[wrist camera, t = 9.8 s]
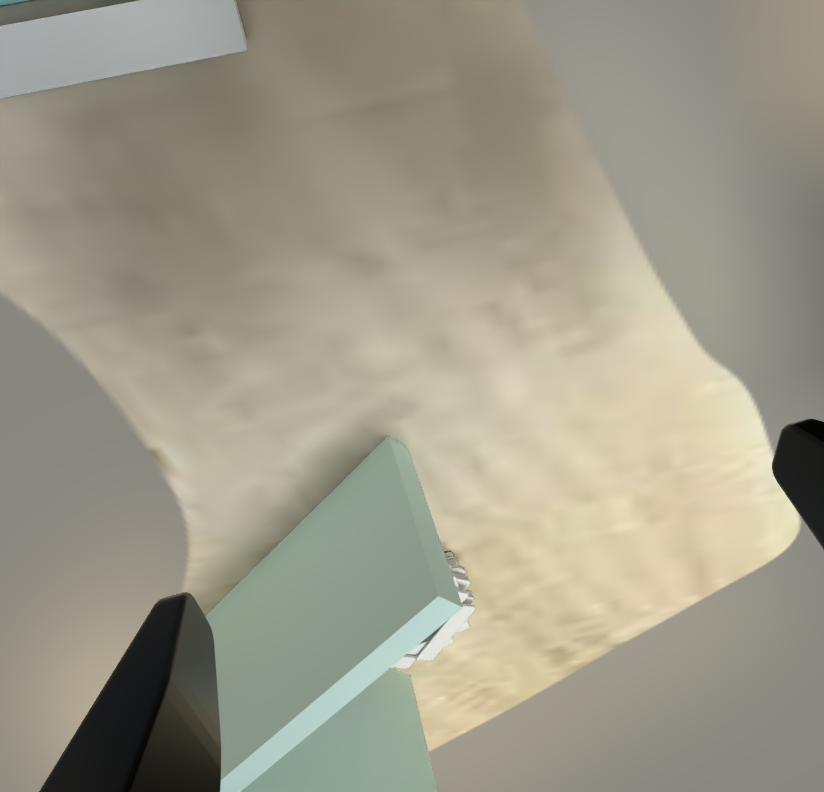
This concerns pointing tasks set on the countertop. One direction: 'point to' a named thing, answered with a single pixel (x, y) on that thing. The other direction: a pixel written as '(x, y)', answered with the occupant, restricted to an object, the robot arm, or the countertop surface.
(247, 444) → the countertop surface
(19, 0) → the teal mat
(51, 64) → the acrylic wall
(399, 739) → the l-shaped corner panel
